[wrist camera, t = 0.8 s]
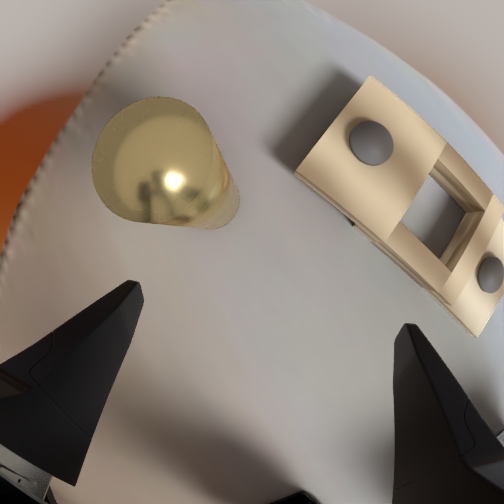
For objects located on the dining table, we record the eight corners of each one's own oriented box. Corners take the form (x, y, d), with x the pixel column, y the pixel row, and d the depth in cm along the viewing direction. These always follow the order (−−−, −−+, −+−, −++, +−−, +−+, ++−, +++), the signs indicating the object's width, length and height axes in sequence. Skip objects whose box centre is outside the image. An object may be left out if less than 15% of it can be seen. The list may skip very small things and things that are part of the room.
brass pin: (201, 240, 24) (127, 248, 10) (172, 192, 24) (74, 147, 10) (250, 208, 24) (239, 172, 10) (219, 161, 24) (172, 74, 10)
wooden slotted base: (468, 333, 24) (490, 344, 20) (291, 177, 23) (296, 168, 20) (515, 249, 23) (538, 251, 20) (359, 90, 23) (372, 71, 19)
